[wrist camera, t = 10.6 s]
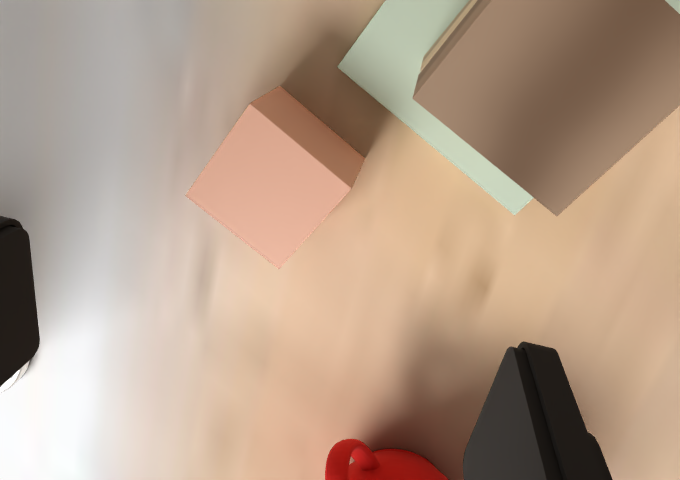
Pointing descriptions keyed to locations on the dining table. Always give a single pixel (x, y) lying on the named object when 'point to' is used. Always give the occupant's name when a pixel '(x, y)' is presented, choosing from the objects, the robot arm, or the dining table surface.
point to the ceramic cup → (377, 464)
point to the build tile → (401, 77)
